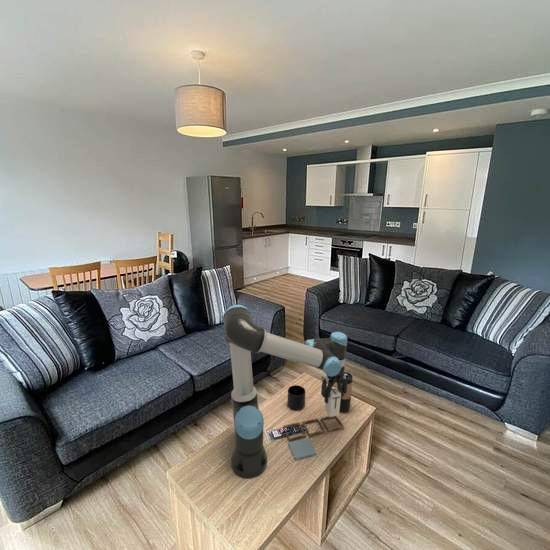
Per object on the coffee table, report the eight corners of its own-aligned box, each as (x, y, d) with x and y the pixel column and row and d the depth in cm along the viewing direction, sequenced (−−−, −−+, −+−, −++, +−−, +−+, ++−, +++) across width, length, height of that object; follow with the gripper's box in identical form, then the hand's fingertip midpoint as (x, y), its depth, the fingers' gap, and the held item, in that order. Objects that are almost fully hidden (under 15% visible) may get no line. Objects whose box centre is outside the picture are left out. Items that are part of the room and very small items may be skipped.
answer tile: (295, 460, 124) (295, 458, 124) (288, 444, 133) (288, 442, 132) (316, 455, 127) (316, 453, 127) (308, 439, 136) (308, 437, 135)
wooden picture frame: (288, 441, 134) (288, 438, 134) (283, 428, 142) (283, 425, 142) (305, 437, 136) (306, 435, 136) (299, 424, 144) (299, 422, 144)
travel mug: (334, 403, 160) (336, 371, 155) (348, 404, 160) (351, 371, 155) (336, 413, 153) (339, 379, 148) (351, 413, 152) (354, 380, 148)
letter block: (329, 417, 140) (331, 395, 137) (325, 410, 145) (326, 388, 142) (339, 415, 141) (341, 393, 138) (334, 408, 146) (336, 387, 143)
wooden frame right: (328, 432, 140) (328, 430, 139) (320, 420, 148) (320, 417, 147) (343, 429, 142) (343, 426, 142) (335, 417, 150) (335, 414, 150)
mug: (311, 403, 160) (312, 388, 158) (296, 413, 152) (297, 398, 150) (298, 395, 167) (299, 381, 164) (283, 404, 159) (284, 390, 156)
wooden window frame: (308, 437, 137) (308, 434, 137) (302, 424, 145) (302, 421, 144) (325, 433, 139) (325, 430, 139) (317, 420, 147) (317, 418, 147)
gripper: (322, 371, 131) (318, 415, 136) (357, 366, 136) (352, 409, 141) (315, 362, 138) (312, 404, 143) (349, 358, 143) (344, 399, 148)
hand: (332, 406), depth 142 cm, fingers closed on letter block, 5 cm apart
